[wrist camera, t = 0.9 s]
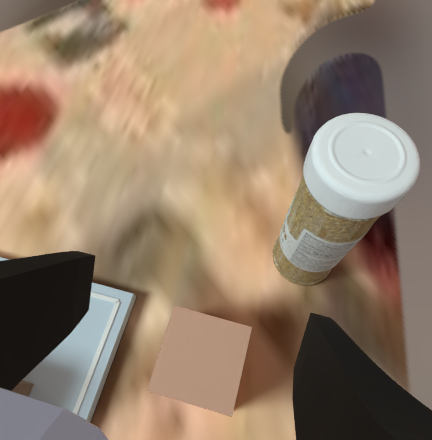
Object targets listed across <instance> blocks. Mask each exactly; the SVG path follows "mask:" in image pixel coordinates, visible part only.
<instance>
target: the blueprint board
mask: <svg viewBox="0 0 432 440" xmlns="http://www.w3.org/2000/svg"><path fill="white" fill-rule="evenodd" d="M4 260H9V259H5V258H2V257H0V261H4ZM135 299H136V296H135V295H134V294H133V293H129V292H125V291H122V290H118V289H114V288H111V287H107V286H104V285H100V284H96V283H93V282H92V288H91V296H90V304H89V311H88V312H87V313H86V315H85V316H84V317H83V319H82V320H81V321H80V323H79V324H78V325H77V326H76V328H75V329H74V330H73V331H72V333H71V334H70V335H69V336H68V337H67V338H66V339H65V340H63V341H62V342H61V343H60V344H59V345H58V346H57V347H56V348H55V349H54V350H53V351H52V352H51V353H50V354H49V355H48V356H47V357H46V358H45V359H44V360H43V361H42V362H41V363H39V364H38V365H37V366H36V367H35V368H34V369H33V370H32V371H31V372H30V373H29V374H28V375H27V376H26V377H25V378H24V379H23V380H24V381H27V382H30V383H33V384H34V385H33V388H32V390H31V392H30V394H29V397H31V398H34V399H37V400H40V401H43V402H46V403H49V404H52V405H55V406H58V407H61V408H64V409H68V410H69V411H71V412H73V413H75V414H76V415H78V416H80V417H81V418H83V419H85V420H87V421H88V422H91V419H92V417H93V414H94V411H95V408H96V406H97V403H98V400H99V398H100V395H101V392H102V389H103V387H104V384H105V381H106V378H107V376H108V373H109V370H110V368H111V365H112V362H113V359H114V357H115V354H116V351H117V348H118V346H119V343H120V340H121V338H122V335H123V332H124V329H125V327H126V324H127V321H128V318H129V316H130V313H131V310H132V308H133V305H134V302H135Z"/></svg>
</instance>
